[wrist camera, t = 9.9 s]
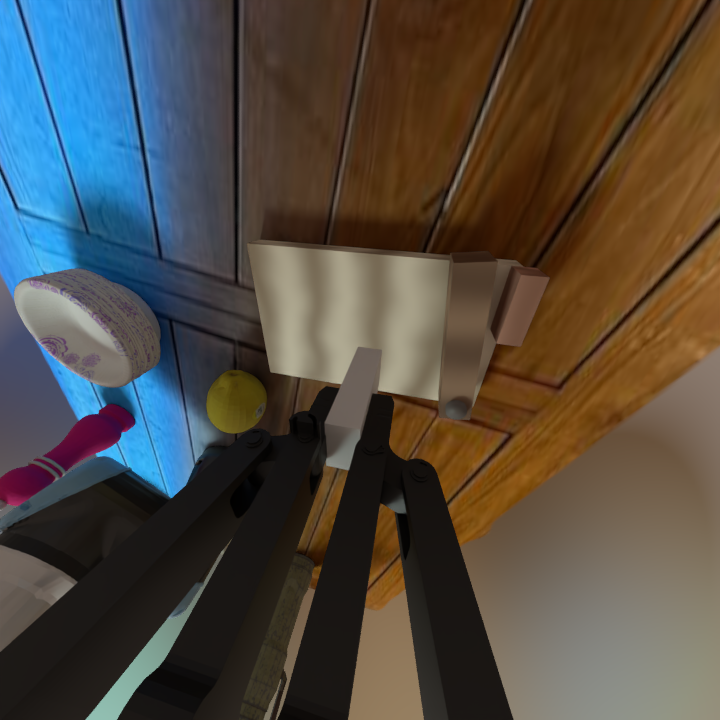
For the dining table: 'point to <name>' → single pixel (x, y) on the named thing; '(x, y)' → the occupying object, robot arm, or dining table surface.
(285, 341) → the stool seat
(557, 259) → the dining table surface
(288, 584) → the thermos
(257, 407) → the lemon
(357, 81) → the dining table surface
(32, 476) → the pepper mill
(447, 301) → the walnut leg
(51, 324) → the paper bowls
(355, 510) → the robot arm
